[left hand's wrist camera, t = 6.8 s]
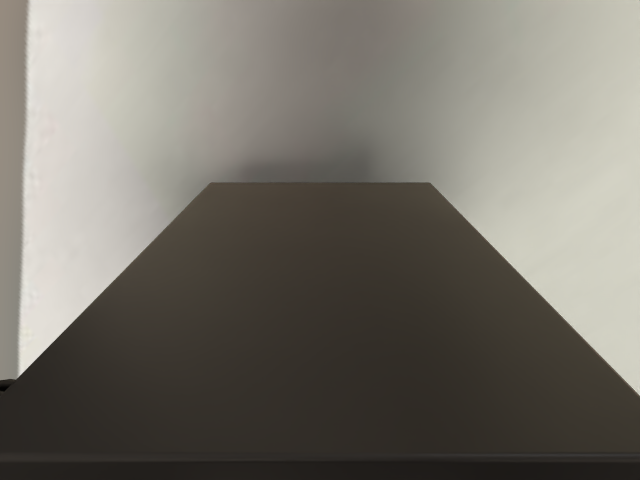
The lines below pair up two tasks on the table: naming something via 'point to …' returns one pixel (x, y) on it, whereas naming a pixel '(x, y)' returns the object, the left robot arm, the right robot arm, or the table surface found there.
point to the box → (320, 355)
